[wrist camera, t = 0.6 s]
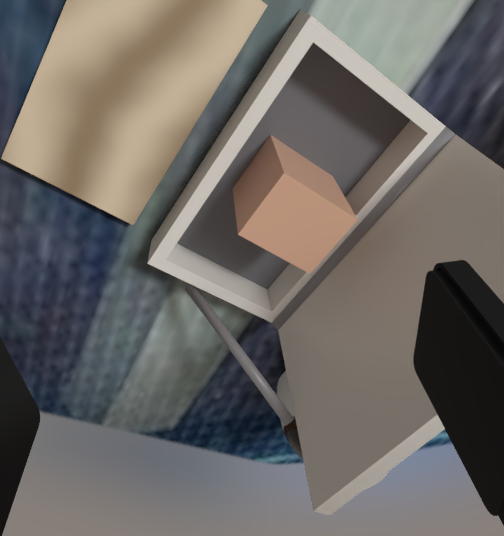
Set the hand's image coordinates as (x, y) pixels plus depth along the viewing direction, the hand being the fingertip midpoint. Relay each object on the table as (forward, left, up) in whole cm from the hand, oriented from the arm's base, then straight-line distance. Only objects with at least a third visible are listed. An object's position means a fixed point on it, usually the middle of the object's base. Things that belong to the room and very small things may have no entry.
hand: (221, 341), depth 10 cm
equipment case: (-9, +3, -26) cm, 27 cm away
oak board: (+4, +3, -26) cm, 26 cm away
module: (-9, +3, -25) cm, 27 cm away
